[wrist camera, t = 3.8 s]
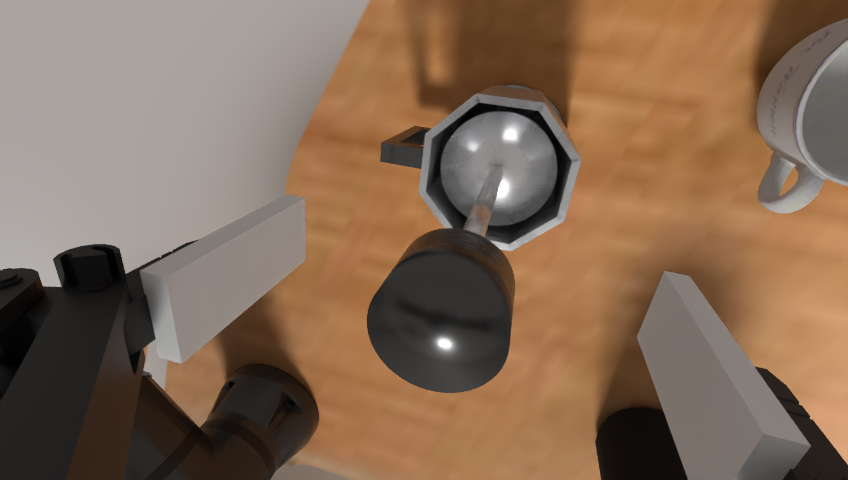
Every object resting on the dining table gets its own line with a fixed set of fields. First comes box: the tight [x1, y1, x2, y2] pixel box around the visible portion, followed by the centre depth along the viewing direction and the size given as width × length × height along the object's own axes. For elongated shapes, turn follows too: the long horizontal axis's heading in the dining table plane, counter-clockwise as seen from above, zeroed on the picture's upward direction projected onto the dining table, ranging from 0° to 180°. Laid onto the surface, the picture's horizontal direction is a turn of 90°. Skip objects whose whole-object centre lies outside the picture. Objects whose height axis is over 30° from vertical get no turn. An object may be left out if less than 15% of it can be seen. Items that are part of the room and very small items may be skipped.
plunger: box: [367, 111, 557, 393], centre depth 20 cm, size 8×8×20 cm
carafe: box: [380, 85, 581, 251], centre depth 33 cm, size 14×10×13 cm
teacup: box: [756, 18, 848, 213], centre depth 28 cm, size 14×11×8 cm
